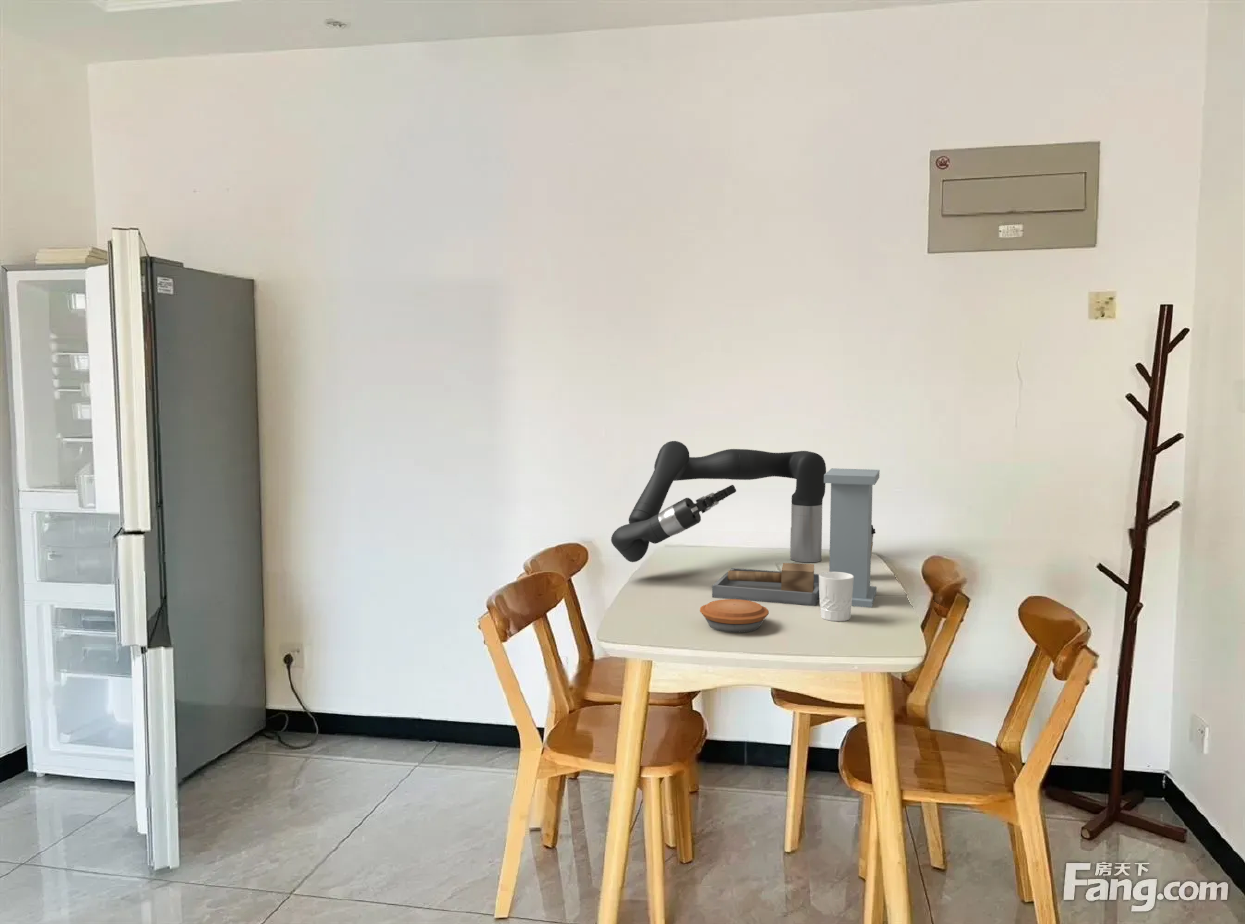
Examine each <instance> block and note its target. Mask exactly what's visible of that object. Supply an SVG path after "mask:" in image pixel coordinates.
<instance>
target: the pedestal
mask: <svg viewBox="0 0 1245 924" xmlns="http://www.w3.org/2000/svg"><path fill="white" fill-rule="evenodd" d="M879 479H880V469H869V468H868V469H866V468H865V469H864V468H863V469H861V468H838V467H837V468H830V469H829V470H828V471H826V474H824V483H826V484H830V512H829V513H830V514H829V515H830V516H829V517H830V518H829V521H830V522H829V524H830V526H829V528H830V529H829V568H828V569H829V571H828V572H843V573H848V574H851V575H853V576H854V580H853V596H852V606H851V607H861V608H862V607H863V608H873V606H874V602H875V599H876V596H877V593H878V592H877V591H878V590H877V589H878V586H873V585H871V570H872V569H871V568H872V567H871V565H872V564H871V563H872V554H871V529H872V525H873V524H872V523H873V522H872V521H873V520H872V519H873V518H872V517H873V486H874V485H876V483H877V482H878V481H879ZM875 595H876V596H875Z"/></svg>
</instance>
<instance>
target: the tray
mask: <svg viewBox="0 0 1245 924" xmlns="http://www.w3.org/2000/svg"><path fill="white" fill-rule="evenodd" d="M729 570H731V571H753V572H775V573H781V572H782V570H781V571H780V570H779V571H778V570H766V569H764V570H763V569H752V568H739V567H731V568H730V569H729ZM819 574H820V573H814V591H813V592H812V593H810V592H797V591H784V590H781V583H773V582H753V581H732V580H728V571H727V572H725V573H724V574H723V575H722V576H721V577H720V578H719V579H718V580H717V581H715V583H714V584H712V585H711V597H712V598H715V599H716V598H718V599H739V600H747V601H752V602H762V603H763V602H765V603H774V604H786V605H787V604H788V605H799V606H800V605H801V606H813V607H816V606H817V604H818V603H819V602H820V598H819Z"/></svg>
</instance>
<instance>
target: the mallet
mask: <svg viewBox="0 0 1245 924" xmlns="http://www.w3.org/2000/svg"><path fill="white" fill-rule="evenodd" d="M781 571H782V572H781V573H775V572H753V571H731V570H730V569H729V570H728V571H727V572H728V580H732V581H753V582H773V583H781V590H784V591H797V592H810V593H812V592H813V591H814V574H815V563H797V562H794V563H792V562H782V567H781Z"/></svg>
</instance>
